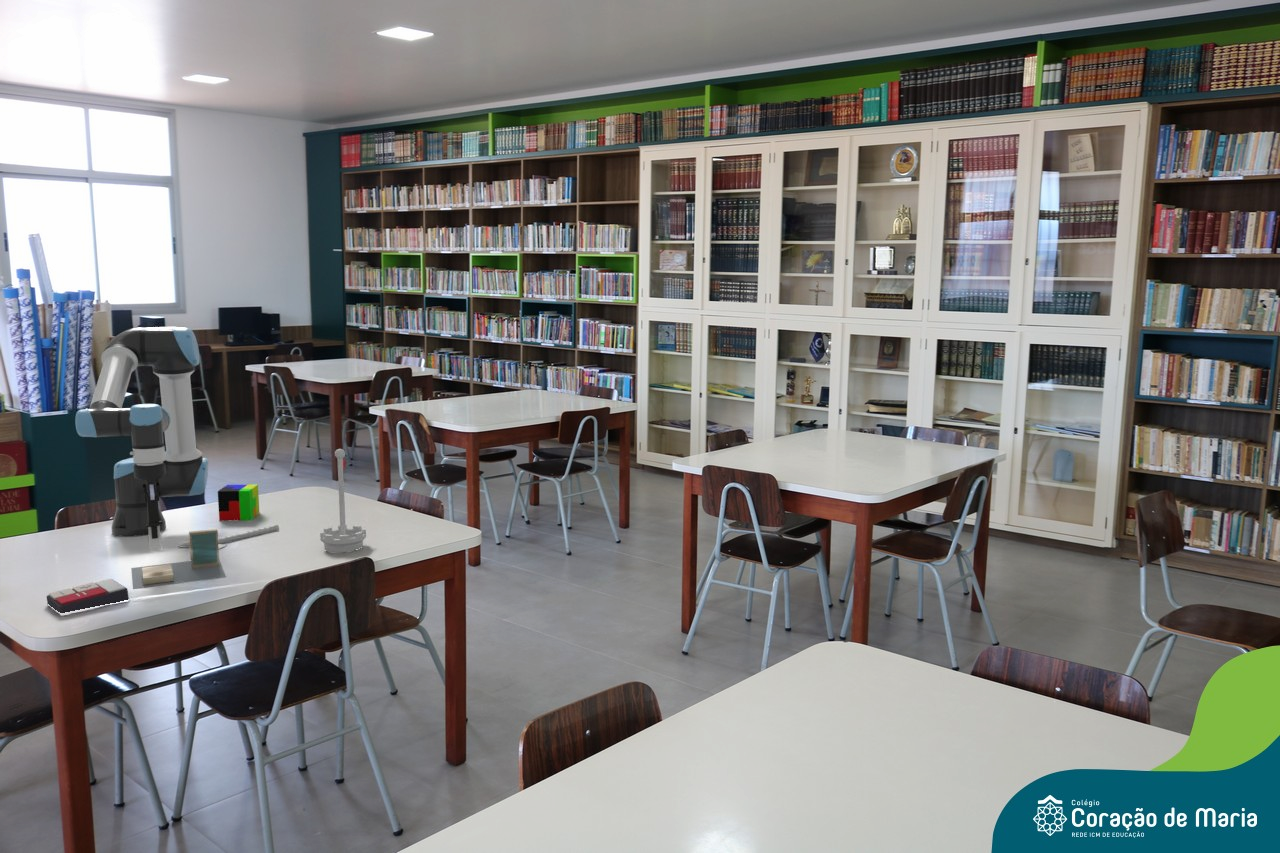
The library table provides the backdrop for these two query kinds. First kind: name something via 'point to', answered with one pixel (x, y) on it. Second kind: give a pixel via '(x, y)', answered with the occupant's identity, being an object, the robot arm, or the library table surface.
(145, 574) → the tile
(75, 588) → the black red flat box
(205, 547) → the tile
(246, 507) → the puzzle toy
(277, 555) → the library table surface
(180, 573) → the mat
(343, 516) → the flag stand
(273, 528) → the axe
